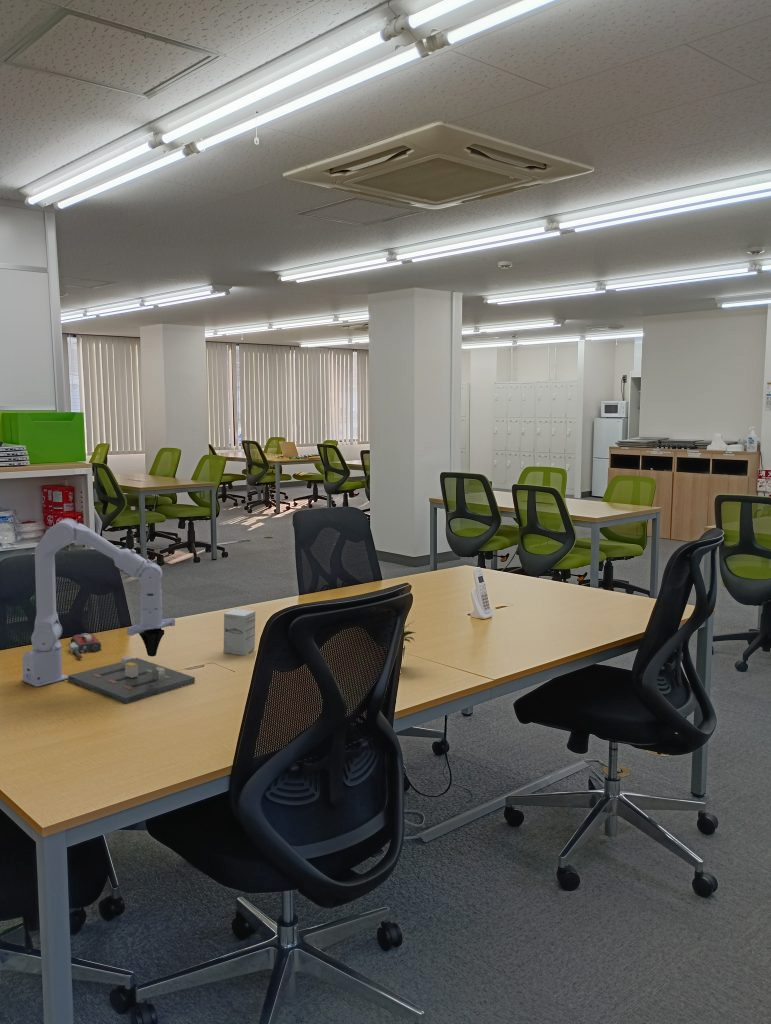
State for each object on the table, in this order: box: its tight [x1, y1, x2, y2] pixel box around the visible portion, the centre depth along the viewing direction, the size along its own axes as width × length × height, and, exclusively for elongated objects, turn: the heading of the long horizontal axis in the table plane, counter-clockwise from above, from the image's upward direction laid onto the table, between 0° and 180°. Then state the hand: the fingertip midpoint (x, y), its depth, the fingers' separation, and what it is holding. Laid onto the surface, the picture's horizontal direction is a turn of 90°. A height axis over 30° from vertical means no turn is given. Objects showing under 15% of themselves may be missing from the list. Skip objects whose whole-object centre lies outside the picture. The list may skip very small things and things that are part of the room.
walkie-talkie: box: [68, 632, 102, 659], centre depth 253 cm, size 9×4×20 cm
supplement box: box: [223, 608, 257, 656], centre depth 256 cm, size 7×7×13 cm
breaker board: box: [67, 655, 196, 705], centre depth 225 cm, size 22×26×4 cm
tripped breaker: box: [125, 662, 138, 678], centre depth 225 cm, size 2×3×3 cm, turn 52°
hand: (151, 655), depth 230 cm, fingers closed
